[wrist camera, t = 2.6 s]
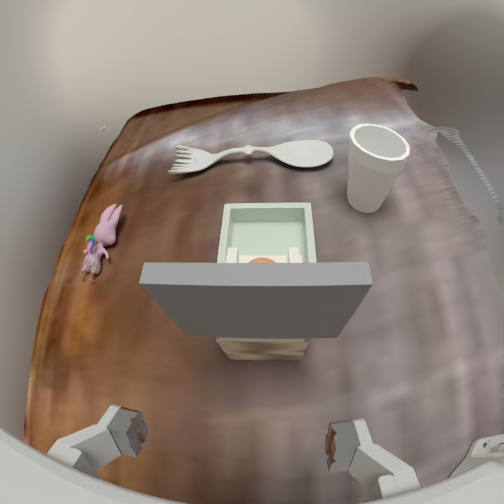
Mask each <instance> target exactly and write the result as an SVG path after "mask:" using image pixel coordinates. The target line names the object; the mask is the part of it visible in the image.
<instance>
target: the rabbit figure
mask: <svg viewBox="0 0 504 504" xmlns="http://www.w3.org/2000/svg"><path fill="white" fill-rule="evenodd" d="M115 207H116V204H114V205H112V206H110V207H108V208H107V209H106V210H105V211H104V212H103V214H102V216H101V219H100V223H99V224H98V225H97V227H96V229H95V232H94V237H93V236H92V235H88V236H87V238H86V242H87V241H88V245H87V250H85V251H84V254H86V253H87V252H88V255H87V256H86V257H85V259H84V266H83V268H82V269H81V276H79V277H81V278H82V279H85V278H84V277H83V275H82V274H83V272H91V273H90V274H91V279H90V281H91V282H95V281H94V280H93V279H92V275H93V274H99V273H100V271H101V261H100V259H101V257H102V255H103V253H104V254H105V255H106V259H109V255H108V252H107V251H106V249H105V248H103V246H104V247H106V246H107V245H112V244H114V242H115V240H116V231H115V228H116V225H117V223H118V220H119V216H120V212H121V209H122V205H120V206H119V207H118V208H117V209H116V210H115V211H114V209H115ZM113 211H114V212H113ZM112 213H113V214H112ZM95 241H96V242H97V243H98V244H97V245H96V246H95ZM92 251H93V253H92ZM85 280H86V279H85ZM88 280H89V279H88Z"/></svg>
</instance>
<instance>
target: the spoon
mask: <svg viewBox="0 0 504 504" xmlns="http://www.w3.org/2000/svg"><path fill="white" fill-rule="evenodd" d="M175 148H176V149H179V151H176V152H177V153H179V154H184V155H176V156H177V157H179V158H184V159H178V160H175V161H176V162H178V163H181V164H174V165H173V166H175V167H173V168H171V169H172V170H170V171H168V173H170V174H182V173H188V172H196V171H200V170H203V169H205V168H207V167H209V166H211V165H212V164H214V163H215V162H217V161H218V160H220V159H222V158H224V157H226V156H229V155H233V154H246V155H251V154H252V153H255V152H261V153H266V154H269V155H271V156H273V157H275V158H276V159H278V160H280V161H282V162H284V163H286V164H289V165H292V166H296V167H316V166H320V165H323V164H325V163H327V162H328V161H330V160H331V159H332V157H333V149H332V147H331V146H330V145H329V144H328V143H326V142H324V141H319V140H297V141H290V142H286V143H283V144H279V145H276V146H272V147H252V146H251V145H246V146H245V147H242V148H233V149H229V150H226V151H223V152H220V153H218V154H211V153H208V152H206V151H204V150H200V149H194V148H190V147H186V146H181V145H178V146H176V147H175Z"/></svg>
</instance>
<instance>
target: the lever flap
mask: <svg viewBox="0 0 504 504" xmlns="http://www.w3.org/2000/svg"><path fill="white" fill-rule="evenodd" d="M256 258H268V259H271V260H273V261H274V262H276V263H248V262H250V261H251V260H253V259H256ZM139 284H140V285H141V286H142V287H143V288H144V289H145V291H146V292H147V293H148V294H149V295H150V296H151V297H152V298H153V299H154V301H155V302H156V303H157V304H158V305H159V306H160V307H161V308H162V309H163V310H164V311H165V313H166V314H167V315H168V316H169V317H170V318H171V319H172V320H173V321H174V322H175V323H176V324H177V325H178V326H179V327H180V328H181V329H182V330H183V331H184V332H185V333H186V334H187V335H188V336H202V337H218V338H219V339H220V341H242V342H304V340H305V339H307V338H337V337H338V335H339V334H340V332H341V331H342V330H343V328H344V327H345V325H346V324H347V322H348V321H349V320H350V318H351V317H352V315H353V314H354V312H355V311H356V309H357V308H358V306H359V305H360V303H361V302H362V300H363V298H364V297H365V295H366V294H367V292H368V291H369V289H370V288H371V286H372V278H371V273H370V267H369V262H334V263H302V255H299V247H289V255H239V252H238V248H228V252H227V255H226V263H144V266H143V270H142V274H141V278H140V282H139Z"/></svg>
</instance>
